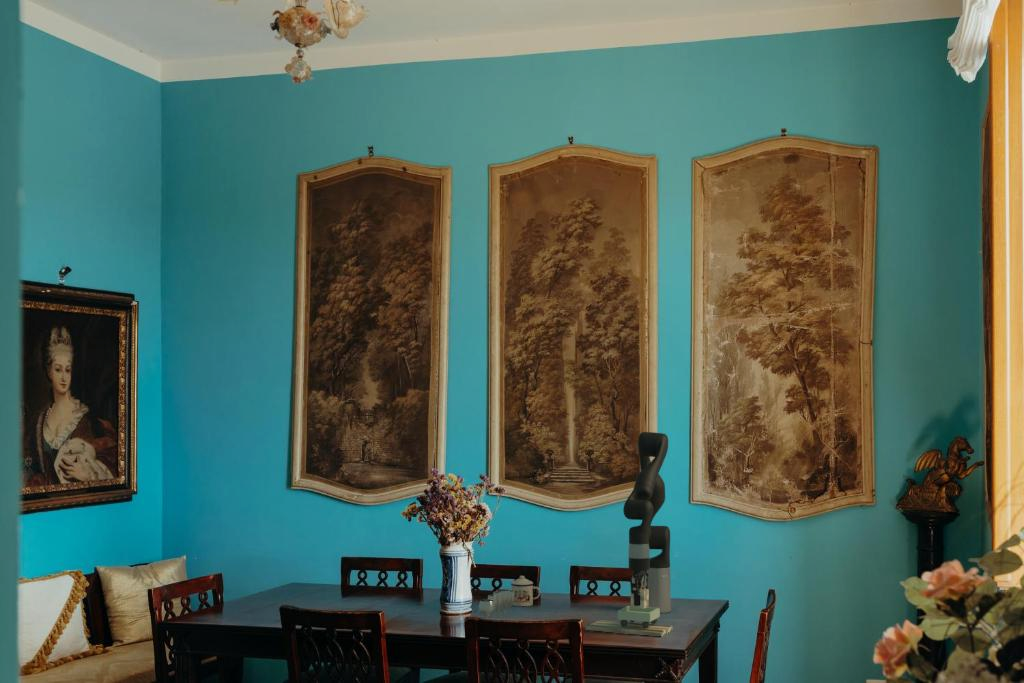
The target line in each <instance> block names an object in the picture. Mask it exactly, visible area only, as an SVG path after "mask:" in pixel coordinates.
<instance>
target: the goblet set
mask: <svg viewBox="0 0 1024 683" xmlns="http://www.w3.org/2000/svg"><path fill="white" fill-rule="evenodd" d="M492 592H493V594H488V595H487V599H480V601H479V605H478V611H479V613H480V615H482V616H483V617H484V619H485V618H488V620H489V618H490V617H491V620H492V619H493V620H494V616H495V612H496V618H497V619H498V620H499V616H500V611H501V612H502V614H501V615H502V620H503V619H504V620H505V611H506V612H507V620H508V619H509V620H510V609H511V607H512V606H513V605H512V604H513V602H514V598H515V594H514V591H513V590H512V589H511V590H510V589H506V588H504V589H501V588H499V589H497V590H496V591H492Z"/></svg>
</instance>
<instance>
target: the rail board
mask: <svg viewBox="0 0 1024 683" xmlns="http://www.w3.org/2000/svg"><path fill="white" fill-rule="evenodd" d="M620 622H621V620H620V621H619V620H618V621H614V620H604V619H597V620H596V621H595V622H591V623H588V624H587V625H586V626H585V631H586V630H595V631H604V632H603V633H605V632H617V633H628V634H640V635H650V636H649V637H651V636H662V637H664V636H665V635H664V634H666V633H667V634H669V633H671V632H672V631H674V625H668V624H667V625H666V624H657V623H655V624H652V623H649V627H648V628H643V627H642V623H643V622H630V621H627V622H628V624H627V626H625V627H623V626H621V624H620ZM671 630H672V631H671ZM670 631H671V632H670ZM668 632H669V633H668ZM628 634H627V635H628ZM667 634H666V635H667ZM640 635H639V636H640ZM663 635H664V636H663Z"/></svg>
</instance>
